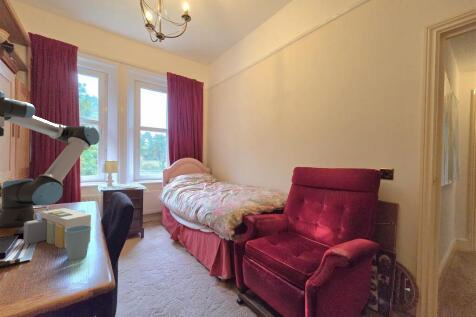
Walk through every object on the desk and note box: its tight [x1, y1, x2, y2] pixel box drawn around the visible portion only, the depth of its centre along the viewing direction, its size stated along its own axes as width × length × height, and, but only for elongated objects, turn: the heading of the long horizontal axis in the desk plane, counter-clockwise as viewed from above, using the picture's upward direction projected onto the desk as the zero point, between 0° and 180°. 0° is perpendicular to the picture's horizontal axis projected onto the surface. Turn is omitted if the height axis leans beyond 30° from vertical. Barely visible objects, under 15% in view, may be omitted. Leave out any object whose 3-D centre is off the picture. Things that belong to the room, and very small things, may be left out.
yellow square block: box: [54, 224, 65, 249], centre depth 90 cm, size 8×4×8 cm, turn 151°
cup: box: [65, 225, 92, 261], centre depth 79 cm, size 8×8×10 cm
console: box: [40, 207, 92, 249], centre depth 95 cm, size 9×22×12 cm, turn 61°
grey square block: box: [23, 219, 47, 245], centre depth 93 cm, size 8×4×8 cm, turn 151°
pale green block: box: [46, 221, 55, 245], centre depth 94 cm, size 8×4×8 cm, turn 151°
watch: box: [33, 207, 52, 220], centre depth 105 cm, size 6×8×11 cm
